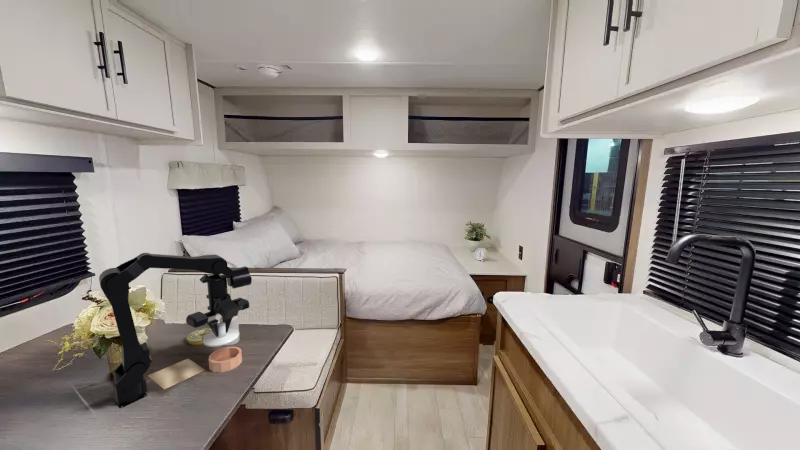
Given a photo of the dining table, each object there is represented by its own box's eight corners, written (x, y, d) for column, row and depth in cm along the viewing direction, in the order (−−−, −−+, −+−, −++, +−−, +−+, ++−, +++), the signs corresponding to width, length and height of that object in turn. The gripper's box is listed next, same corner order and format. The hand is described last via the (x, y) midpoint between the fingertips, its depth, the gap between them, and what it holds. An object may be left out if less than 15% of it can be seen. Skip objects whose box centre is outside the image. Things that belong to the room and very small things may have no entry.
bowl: (219, 377, 103) (218, 366, 102) (203, 367, 108) (203, 356, 108) (247, 362, 111) (247, 352, 111) (232, 353, 117) (231, 343, 116)
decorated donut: (202, 333, 132) (202, 324, 131) (224, 336, 129) (223, 327, 129) (180, 345, 122) (180, 336, 121) (203, 349, 119) (202, 340, 119)
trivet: (164, 391, 96) (164, 389, 96) (147, 377, 102) (147, 375, 102) (205, 371, 106) (205, 369, 106) (188, 360, 112) (187, 358, 112)
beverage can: (234, 347, 121) (232, 318, 119) (217, 347, 121) (216, 318, 119) (242, 339, 127) (241, 311, 125) (227, 338, 127) (225, 311, 126)
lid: (214, 350, 101) (213, 335, 100) (196, 340, 106) (195, 326, 106) (245, 335, 110) (245, 321, 109) (228, 327, 116) (227, 314, 115)
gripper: (201, 306, 93) (205, 354, 96) (257, 288, 109) (260, 329, 112) (183, 299, 99) (187, 344, 102) (238, 282, 115) (241, 321, 117)
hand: (221, 334), depth 108 cm, fingers closed on lid, 3 cm apart
